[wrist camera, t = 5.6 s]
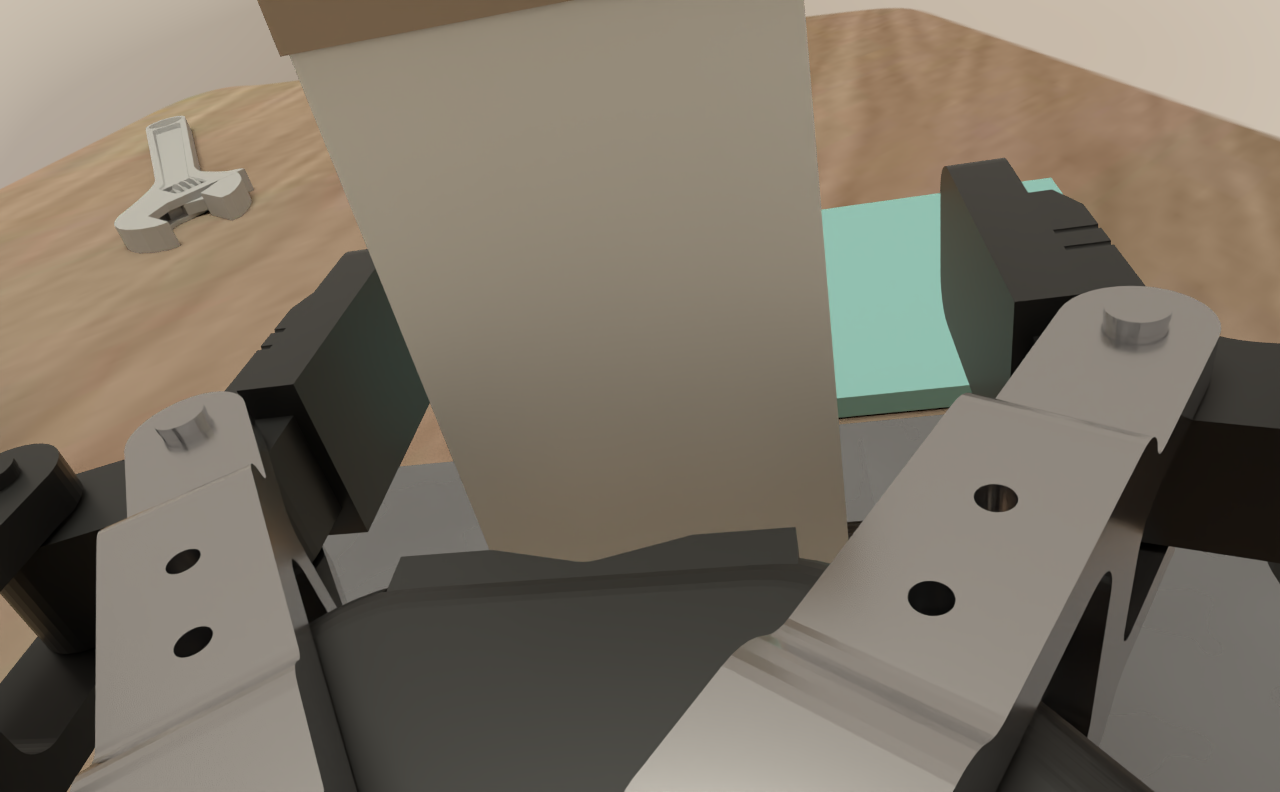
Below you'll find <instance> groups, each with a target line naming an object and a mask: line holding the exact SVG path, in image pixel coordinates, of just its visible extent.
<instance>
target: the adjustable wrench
mask: <svg viewBox="0 0 1280 792" xmlns="http://www.w3.org/2000/svg"><path fill="white" fill-rule="evenodd" d="M146 133H147V138H148V144H149V149H150V154H151V160H152V165H153V170H154V176H155V183H154V184H153V186H152V187H151V188H150V189H149V190H148V191H147V192H146V193H145V194H144V195H143V196H142V197H141V198H140V199H139V200H138V201H137V202H136V203H134V204H133V205H132V206H131V207H129V208H128V209H127V210H126V211H124V212H123V213H122V214H121V215H120V216H118V218H117V219H116V220H115V223H114V226H115V228H116V229H117V231H118V233H119V235H120V236H121V238H122V240H123V242H124V243H125V245H126V247H127V249H129V250H130V251H132V252H136V253H154V252H160V251H166V250H170V249H173V248H176V247H178V246H181V245H180V243H179V241H178V239H177V238H176V236H175V234H174V232H173V230H172V229H174V228H175V227H176V226H178V225H180V224H182V223H184V222H186V221H188V220H191V219H193V218H195V217H197V216H199V215H201V214H203V213H205V212H208V211H210V213H211V215H213V216H217V217H221V218H225V219H229V220H235V219H237V218H239V217H241V216H242V215H243V214H244V213H245V212H246V211H247V210H248V208H249V207H250V205H251V201H252V200H251V197H250V195H249V193H248V192H250V191H252V190H254V188H253V186H252V184H251V182H250V180H249V177H248V175H247V173H246V171H245V169H236V170H231V171H222V172H204V171H200V166H199V162H198V157H197V153H196V148H195V144H194V139H193V135H192V131H191V129H190V127H189V125H188V123H187V120H186V118H185V117H184V116H175V117H171V118H167V119H164V120H161V121H158V122H155V123H153V124H151V125H149V126H148V127H146Z"/></svg>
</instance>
